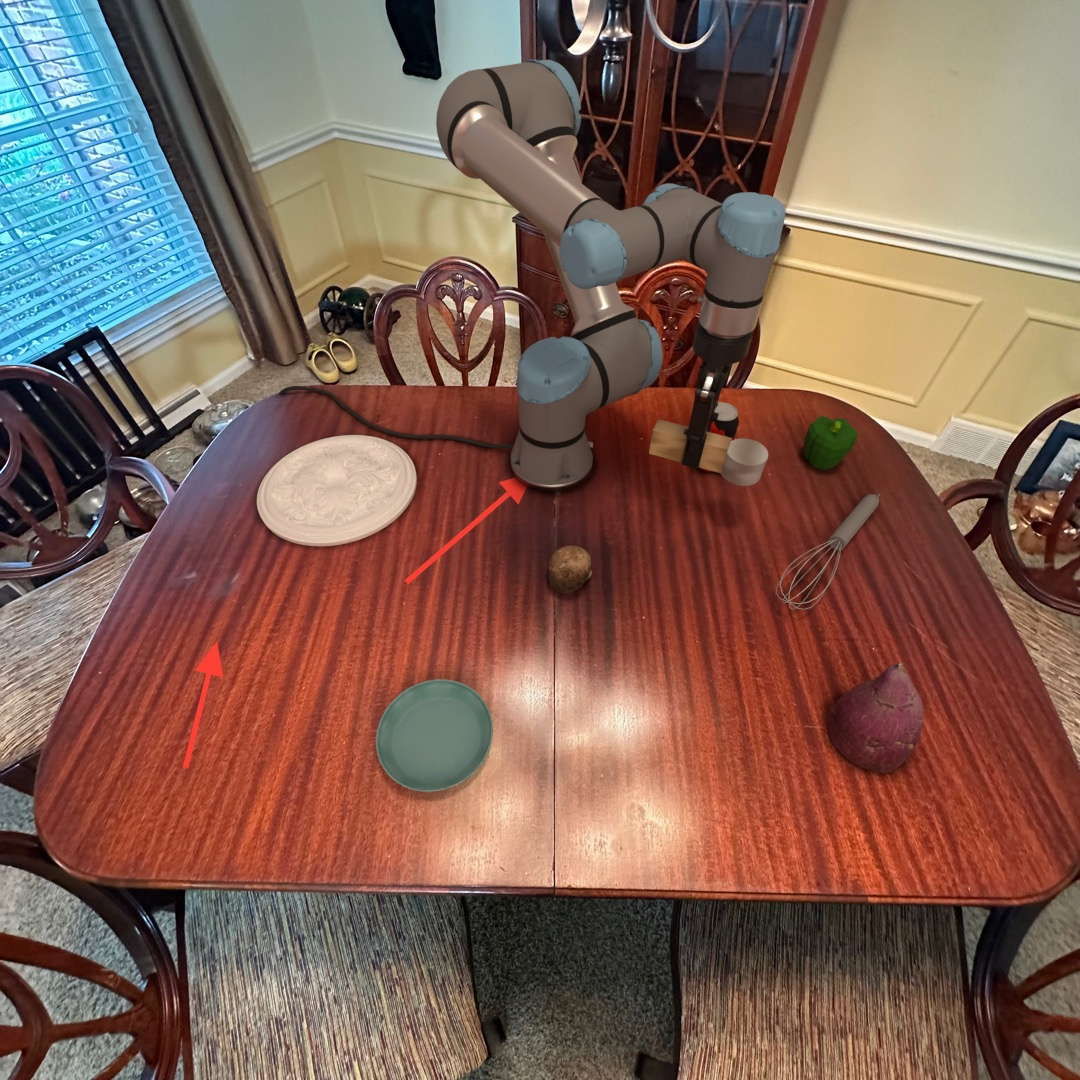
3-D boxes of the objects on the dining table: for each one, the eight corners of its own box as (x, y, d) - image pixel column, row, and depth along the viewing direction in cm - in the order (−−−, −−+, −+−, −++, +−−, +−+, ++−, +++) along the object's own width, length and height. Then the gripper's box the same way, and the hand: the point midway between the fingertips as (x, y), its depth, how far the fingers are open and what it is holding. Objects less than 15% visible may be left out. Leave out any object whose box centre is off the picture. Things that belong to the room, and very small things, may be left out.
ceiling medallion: (425, 528, 102) (422, 516, 100) (253, 560, 98) (246, 547, 95) (408, 428, 120) (405, 415, 118) (262, 451, 116) (256, 438, 113)
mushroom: (611, 559, 93) (589, 541, 89) (592, 606, 91) (569, 589, 87) (573, 553, 99) (551, 536, 95) (555, 597, 97) (531, 581, 93)
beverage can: (732, 464, 113) (749, 412, 104) (710, 479, 110) (726, 427, 101) (706, 447, 116) (720, 395, 107) (684, 461, 113) (696, 409, 104)
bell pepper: (809, 440, 117) (828, 397, 110) (850, 459, 113) (872, 417, 106) (788, 461, 113) (805, 418, 106) (829, 482, 110) (850, 439, 102)
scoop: (645, 459, 99) (649, 435, 95) (656, 437, 102) (661, 413, 99) (756, 490, 94) (765, 466, 90) (764, 465, 98) (772, 441, 94)
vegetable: (810, 714, 83) (823, 637, 75) (886, 704, 83) (907, 625, 74) (845, 782, 75) (864, 703, 66) (930, 771, 74) (960, 690, 66)
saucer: (434, 825, 71) (431, 818, 69) (356, 746, 77) (351, 737, 75) (517, 734, 78) (516, 725, 76) (440, 668, 85) (437, 658, 83)
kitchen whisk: (891, 507, 105) (907, 480, 101) (799, 627, 89) (813, 603, 84) (857, 490, 108) (871, 464, 103) (762, 604, 92) (774, 579, 87)
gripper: (711, 293, 87) (683, 424, 104) (682, 349, 77) (656, 483, 95) (764, 303, 85) (726, 435, 102) (741, 362, 75) (704, 496, 93)
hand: (693, 458), depth 98 cm, fingers closed on scoop, 3 cm apart
